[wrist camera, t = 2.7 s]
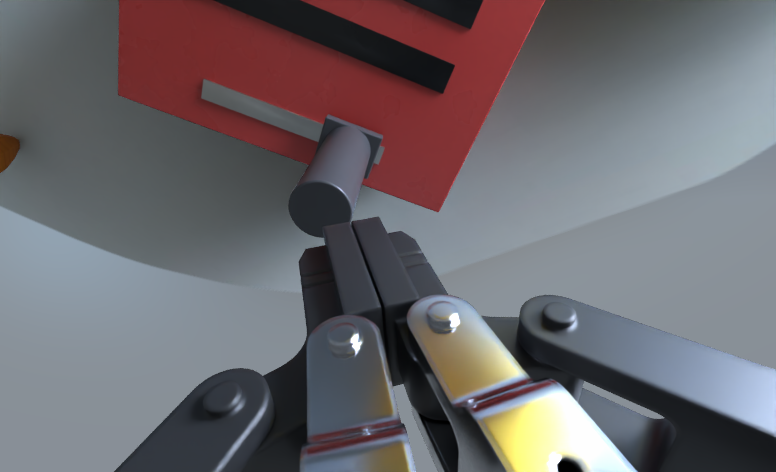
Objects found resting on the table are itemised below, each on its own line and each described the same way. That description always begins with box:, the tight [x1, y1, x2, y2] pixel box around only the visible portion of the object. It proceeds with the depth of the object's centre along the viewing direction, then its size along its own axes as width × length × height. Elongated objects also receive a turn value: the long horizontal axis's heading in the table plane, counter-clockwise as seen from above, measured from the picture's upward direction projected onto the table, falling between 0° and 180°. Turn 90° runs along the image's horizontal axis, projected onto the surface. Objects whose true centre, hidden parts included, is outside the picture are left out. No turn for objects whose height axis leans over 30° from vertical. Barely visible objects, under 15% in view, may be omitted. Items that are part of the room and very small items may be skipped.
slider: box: [288, 114, 383, 238], centre depth 18 cm, size 3×2×7 cm
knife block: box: [118, 0, 545, 212], centre depth 24 cm, size 19×13×11 cm
